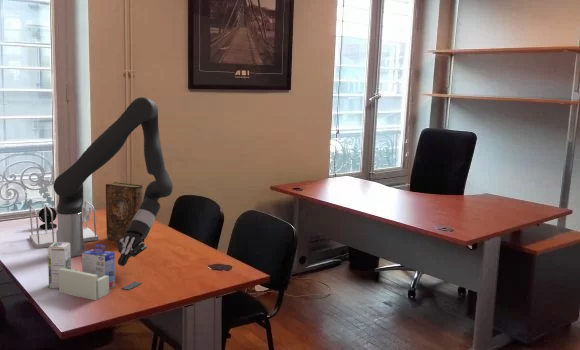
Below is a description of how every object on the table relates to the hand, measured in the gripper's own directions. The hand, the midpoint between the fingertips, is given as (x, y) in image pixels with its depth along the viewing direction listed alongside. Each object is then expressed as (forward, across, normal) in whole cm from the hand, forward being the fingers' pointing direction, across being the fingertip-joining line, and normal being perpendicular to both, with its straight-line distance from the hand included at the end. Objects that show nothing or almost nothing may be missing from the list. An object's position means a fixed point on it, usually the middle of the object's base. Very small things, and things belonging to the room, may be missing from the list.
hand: (120, 264), depth 199 cm
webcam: (-22, -72, +28) cm, 81 cm away
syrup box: (+15, -12, -9) cm, 21 cm away
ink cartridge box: (+11, 0, -5) cm, 12 cm away
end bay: (+15, 0, -10) cm, 18 cm away
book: (-22, -27, +29) cm, 45 cm away
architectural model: (-36, -61, +43) cm, 83 cm away
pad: (+8, +10, -2) cm, 13 cm away
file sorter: (-14, -52, +21) cm, 57 cm away
